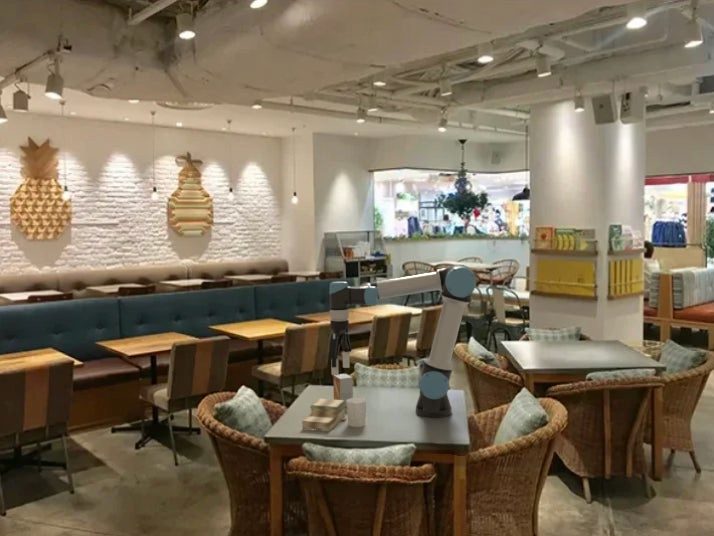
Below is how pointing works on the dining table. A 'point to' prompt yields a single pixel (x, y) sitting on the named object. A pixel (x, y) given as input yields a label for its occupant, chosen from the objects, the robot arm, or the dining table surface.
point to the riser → (324, 414)
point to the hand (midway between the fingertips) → (340, 371)
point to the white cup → (356, 412)
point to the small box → (343, 387)
